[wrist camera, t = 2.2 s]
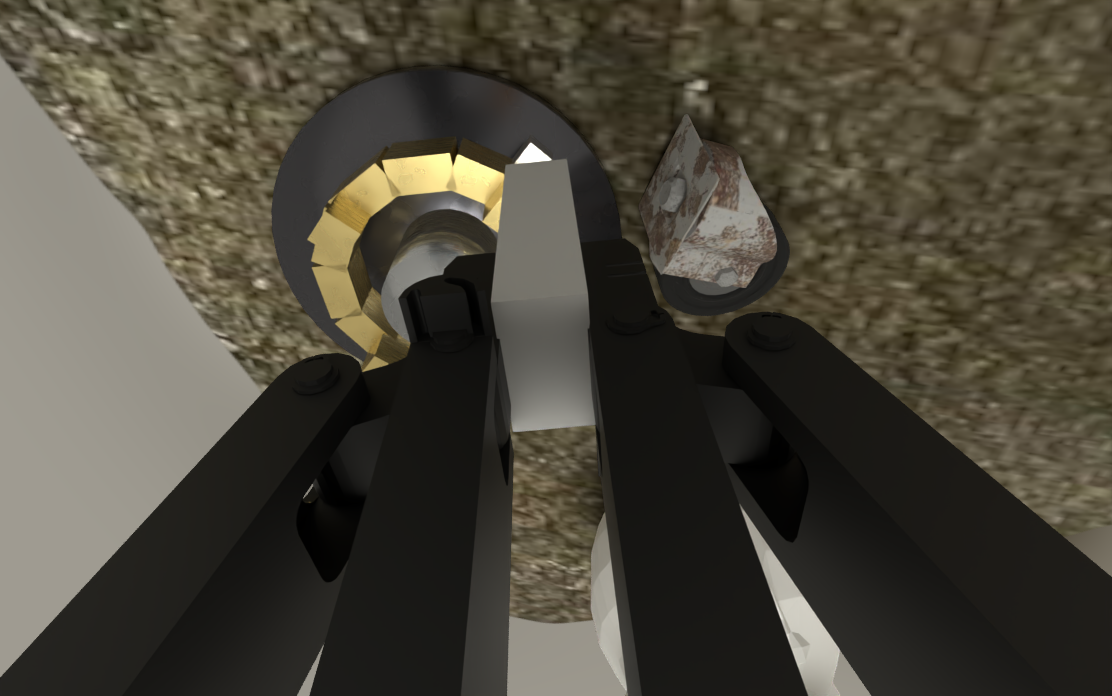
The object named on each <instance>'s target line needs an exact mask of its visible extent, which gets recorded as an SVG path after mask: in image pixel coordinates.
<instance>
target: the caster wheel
mask: <svg viewBox="0 0 1112 696" xmlns="http://www.w3.org/2000/svg"><path fill="white" fill-rule="evenodd" d="M639 211H640V214H641V217H642V220H643V223H644V226H645V229H646V232H647V235H648V238H649V241H650V243H649V254H650V258H651V260H652V262H653V266H654V270H655V274H656V277H657V280H658V283H659V286H660V289H661V292H662V294H663V296H664V298H665V300H666V301H667V302H668V303H669V304H670V305H671V306H672V307H674V308H675V309H677V310H679V311H682V312H684V313H687V314H691V315H699V316H712V315H720V314H724V313H728V312H732V311H735V310H737V309H740V308H742V307H744V306H747V305H749V304H751V303H752V302H754V301H756V300H757V299H759V298H760V297H762V296H763V295H764V294H766V293H767V292H768V291H769V290H770V289H771V288H772V287H773V286H774V285H775V284H776V283H777V281H778V280H779V279H780V278H781V276H782V274H783V273H784V271H785V269H786V267H787V263H788V260H789V254H790V250H789V243H788V241H787V239H786V236H785V234H784V233H783V231H782V229H781V227H780V225H779V223H778V222H777V220H776V218H775V217H774V215H773V213H772V212H771V211H770V210H769V209H768V208H767V207H766V206H765V205H764V204H762V203H761V201H760V199H759V197H758V195H757V194H756V192H755V190H754V188H753V186H752V185H751V183H750V181H749V179H748V176H747V174H746V172H745V169H744V166H743V164H742V161H741V158H740V156H739V154H738V153H737V151H736V150H735V149H734V148H733V147H731V146H728V145H724V144H720V143H716V142H712V141H708V140H704V139H700V138H699V136H698V134H697V132H696V130H695V128H694V126H693V124H692V122H691V120H690V118H689V115H688V114H685V115H684V117H683V119H682V121H681V123H680V125H679V127H678V129H677V131H676V133H675V135H674V136H673V138H672V140H671V142H670V144H669V146H668V148H667V150H666V152H665V154H664V156H663V158H662V160H661V162H660V164H659V166H658V168H657V170H656V172H655V174H654V176H653V177H652V179H651V181H650V183H649V185H648V187H647V189H646V191H645V193H644V195H643V197H642V199H641V201H640V203H639Z"/></svg>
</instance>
